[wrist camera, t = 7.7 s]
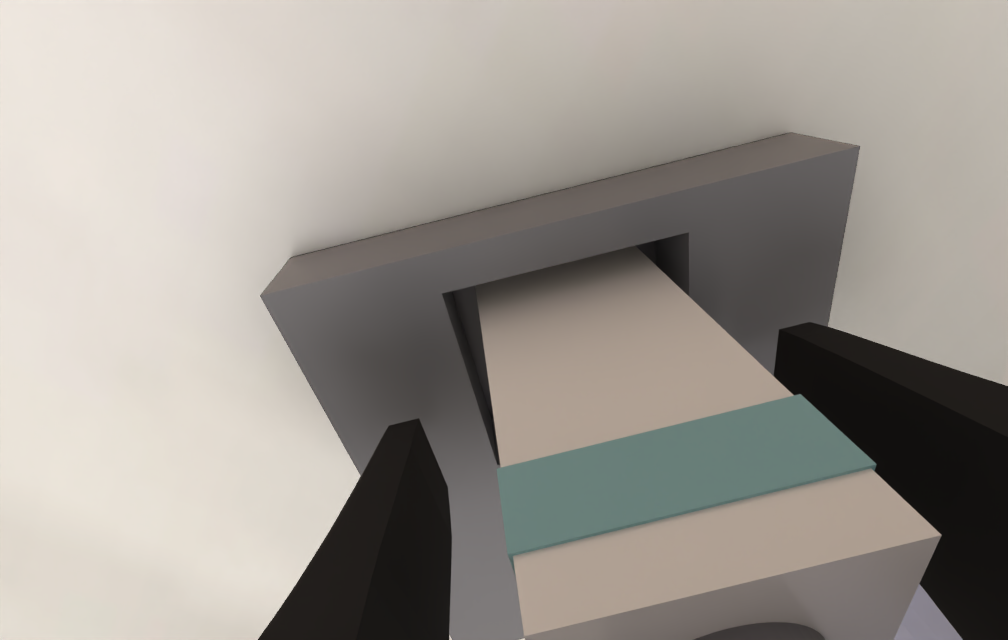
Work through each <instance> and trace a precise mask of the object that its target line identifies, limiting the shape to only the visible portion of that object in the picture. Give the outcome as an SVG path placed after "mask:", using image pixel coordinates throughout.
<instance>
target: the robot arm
mask: <svg viewBox="0 0 1008 640" xmlns="http://www.w3.org/2000/svg"><path fill="white" fill-rule="evenodd" d="M774 377H775V378H776V379H777V380H778V381H779V382H780V383H781V384H782V385H783V386H784V387H785V388H786V389H788V390H789V391H790V392H791V393H792V394H793V395H798V394H801V395H802V396H803V397H804V398H805V399H806V400H808V401H809V402H810V403H811V404H812V405H813V406H814V407H815V408H816V409H817V410H818V411H819V412H821V413H822V414H823V415H824V416H825V417H826V418H827V419H828V420H829V421H830V422H831V423H832V424H834V425H835V426H836V427H837V428H838V429H839V430H840V431H841V432H842V433H843V434H844V435H845V436H847V437H848V438H849V439H850V440H851V441H852V442H853V443H854V444H855V445H856V446H857V447H859V448H860V449H861V450H862V451H863V452H864V453H865V454H866V455H867V456H868V457H869V458H870V459H872V460H873V461H874V462H875V463H876V464H877V465H876V468H875V471H874V472H875V473H877V474H878V475H879V476H880V477H881V478H882V479H883V480H884V481H885V482H886V483H887V484H888V485H889V486H890V487H891V488H892V489H893V490H895V491H896V492H897V493H898V494H899V495H900V496H901V497H902V498H903V499H904V500H905V501H906V502H907V503H908V504H909V505H910V506H912V507H913V508H914V509H915V510H916V511H917V512H918V513H919V514H920V515H921V516H922V517H923V518H924V519H925V520H926V521H927V522H928V523H930V524H931V525H932V526H933V527H934V528H935V529H936V530H937V531H938V532H939V533H940V534H941V535H942V536H941V538H940V540H939V542H938V544H937V546H936V549H935V551H934V553H933V555H932V557H931V559H930V562H929V564H928V566H927V568H926V570H925V572H924V575H923V577H922V579H921V581H920V583H919V585H918V588H917V590H916V592H915V594H914V596H913V598H912V601H911V603H910V605H909V607H908V609H907V611H906V614H905V616H904V618H903V620H902V622H901V624H900V627H899V629H898V631H897V633H896V635H895V637H894V640H1008V386H1005V385H1002V384H999V383H996V382H992V381H989V380H986V379H983V378H980V377H977V376H974V375H970V374H967V373H964V372H961V371H958V370H955V369H952V368H949V367H946V366H943V365H940V364H937V363H934V362H931V361H928V360H925V359H922V358H919V357H916V356H914V355H911V354H908V353H905V352H902V351H899V350H896V349H893V348H890V347H887V346H884V345H881V344H878V343H875V342H873V341H870V340H867V339H864V338H861V337H858V336H855V335H852V334H849V333H846V332H843V331H839V330H836V329H833V328H830V327H827V326H823V325H820V324H816V323H812V322H807V323H803V324H799V325H795V326H791V327H787V328H783V329H779V333H778V342H777V350H776V359H775V368H774ZM451 559H452V531H451V517H450V505H449V494H448V486H447V484H446V481H445V479H444V477H443V474H442V472H441V469H440V467H439V465H438V462H437V460H436V458H435V455H434V453H433V450H432V448H431V446H430V443H429V441H428V439H427V436H426V434H425V431H424V429H423V427H422V424H421V422H420V420H419V418H418V419H414V420H410V421H405V422H401V423H397V424H393V425H389V426H388V428H387V429H386V431H385V433H384V434H383V436H382V438H381V440H380V442H379V444H378V445H377V447H376V449H375V451H374V453H373V455H372V457H371V458H370V460H369V462H368V464H367V466H366V468H365V470H364V471H363V473H362V475H361V477H360V479H359V481H358V482H357V484H356V486H355V488H354V490H353V491H352V493H351V495H350V497H349V498H348V500H347V502H346V504H345V505H344V507H343V509H342V511H341V512H340V514H339V516H338V518H337V519H336V521H335V523H334V524H333V526H332V528H331V530H330V531H329V533H328V535H327V536H326V538H325V540H324V541H323V543H322V544H321V546H320V547H319V549H318V551H317V552H316V554H315V555H314V557H313V559H312V560H311V562H310V563H309V565H308V566H307V568H306V570H305V571H304V573H303V574H302V576H301V578H300V579H299V581H298V582H297V584H296V585H295V587H294V588H293V590H292V591H291V593H290V594H289V596H288V597H287V599H286V600H285V602H284V603H283V605H282V606H281V608H280V609H279V611H278V612H277V613H276V615H275V616H274V618H273V619H272V621H271V622H270V623H269V625H268V626H267V628H266V629H265V630H264V632H263V633H262V635H261V636H260V637H259V639H258V640H449V624H450V594H451Z"/></svg>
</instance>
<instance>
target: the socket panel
mask: <svg viewBox="0 0 1008 640" xmlns="http://www.w3.org/2000/svg"><path fill="white" fill-rule="evenodd" d="M859 149H860V146H857V145H852V144H847V143H842V142H837V141H832V140H826V139H821V138H816V137H811V136H806V135H800V134H795V133H788V134H784V135H780V136H776V137H772V138H768V139H764V140H760V141H756V142H752V143H748V144H744V145H740V146H736V147H732V148H728V149H724V150H720V151H716V152H712V153H708V154H704V155H700V156H696V157H692V158H688V159H684V160H680V161H676V162H672V163H668V164H664V165H660V166H656V167H652V168H648V169H644V170H640V171H636V172H632V173H628V174H624V175H620V176H616V177H612V178H608V179H604V180H600V181H596V182H592V183H588V184H584V185H580V186H576V187H572V188H568V189H564V190H560V191H556V192H552V193H548V194H544V195H540V196H536V197H532V198H528V199H524V200H520V201H516V202H512V203H508V204H504V205H500V206H496V207H492V208H488V209H484V210H480V211H476V212H472V213H468V214H464V215H460V216H456V217H452V218H448V219H444V220H440V221H436V222H432V223H428V224H424V225H420V226H416V227H412V228H408V229H404V230H400V231H396V232H392V233H388V234H384V235H380V236H376V237H372V238H368V239H364V240H360V241H356V242H352V243H348V244H344V245H340V246H336V247H332V248H328V249H324V250H320V251H316V252H312V253H308V254H304V255H300V256H296V257H292V258H290V259H289V260H288V261H287V263H286V264H285V265H284V266H283V268H282V269H281V270H280V271H279V273H278V274H277V275H276V276H275V278H274V279H273V280H272V281H271V283H270V284H269V285H268V286H267V288H266V289H265V290H264V291H263V292H262V294H261V295H260V297H261V298H262V300H263V302H264V304H265V306H266V307H267V309H268V311H269V313H270V315H271V316H272V318H273V320H274V322H275V323H276V325H277V327H278V329H279V331H280V332H281V334H282V336H283V338H284V340H285V341H286V343H287V345H288V347H289V348H290V350H291V352H292V354H293V356H294V357H295V359H296V361H297V363H298V365H299V366H300V368H301V370H302V372H303V373H304V375H305V377H306V379H307V381H308V382H309V384H310V386H311V388H312V390H313V391H314V393H315V395H316V397H317V399H318V400H319V402H320V404H321V406H322V407H323V409H324V411H325V413H326V415H327V416H328V418H329V420H330V422H331V424H332V425H333V427H334V429H335V431H336V432H337V434H338V436H339V438H340V440H341V441H342V443H343V445H344V447H345V449H346V450H347V452H348V454H349V456H350V458H351V459H352V461H353V463H354V465H355V466H356V468H357V470H358V472H359V474H360V475H362V473H363V471H364V470H365V468H366V466H367V464H368V462H369V460H370V458H371V457H372V455H373V453H374V451H375V449H376V447H377V445H378V444H379V442H380V440H381V438H382V436H383V434H384V433H385V431H386V429H387V428H388V426H389V425H393V424H397V423H401V422H405V421H410V420H414V419H418V418H419V420H420V422H421V424H422V427H423V429H424V431H425V434H426V436H427V439H428V441H429V443H430V446H431V448H432V450H433V453H434V455H435V458H436V460H437V462H438V465H439V467H440V469H441V472H442V474H443V477H444V479H445V481H446V484H447V486H448V494H449V505H450V517H451V531H452V559H451V594H450V624H449V634H450V636H451V638H452V640H519V639H523V638H525V637H524V632H523V624H522V617H521V610H520V603H519V596H518V589H517V581H516V576H515V574H514V571H513V568H512V565H511V563H510V560H509V557H508V554H507V546H506V538H505V531H504V523H503V515H502V507H501V500H500V492H499V484H498V476H497V468H501V467H500V460H499V452H498V445H497V438H496V431H495V424H494V417H493V409H492V402H491V395H490V388H489V381H488V374H487V366H486V359H485V352H484V345H483V338H482V331H481V323H480V316H479V309H478V302H477V295H476V288H475V285H479V284H483V283H487V282H491V281H495V280H499V279H503V278H507V277H511V276H515V275H519V274H523V273H527V272H531V271H535V270H539V269H543V268H547V267H551V266H555V265H559V264H563V263H567V262H571V261H575V260H579V259H583V258H587V257H591V256H595V255H599V254H603V253H607V252H611V251H615V250H619V249H623V248H627V247H631V246H636V247H637V248H638V249H639V250H640V251H641V252H642V253H643V254H644V255H646V256H647V257H648V258H649V259H650V260H651V261H652V262H653V263H654V264H655V265H656V266H657V267H658V268H659V269H660V270H661V271H662V272H664V273H665V274H666V275H667V276H668V277H669V278H670V279H671V280H672V281H673V282H674V283H675V284H676V285H677V286H678V287H679V288H681V289H682V290H683V291H684V292H685V293H686V294H687V295H688V296H689V297H690V298H691V299H692V300H693V301H694V302H695V303H696V304H697V305H699V306H700V307H701V308H702V309H703V310H704V311H705V312H706V313H707V314H708V315H709V316H710V317H711V318H712V319H713V320H714V321H715V322H717V323H718V324H719V325H720V326H721V327H722V328H723V329H724V330H725V331H726V332H727V333H728V334H729V335H730V336H731V337H732V338H733V339H735V340H736V341H737V342H738V343H739V344H740V345H741V346H742V347H743V348H744V349H745V350H746V351H747V352H748V353H749V354H750V355H752V356H753V357H754V358H755V359H756V360H757V361H758V362H759V363H760V364H761V365H762V366H763V367H764V368H765V369H766V370H767V371H768V372H770V373H771V374H772V375H773V376H774V368H775V359H776V350H777V342H778V333H779V329H783V328H787V327H791V326H795V325H799V324H803V323H807V322H812V323H816V324H820V325H823V326H827V327H828V321H829V316H830V310H831V305H832V299H833V294H834V288H835V282H836V277H837V271H838V266H839V260H840V255H841V249H842V243H843V238H844V232H845V227H846V221H847V216H848V210H849V204H850V199H851V193H852V188H853V182H854V177H855V171H856V166H857V160H858V154H859Z"/></svg>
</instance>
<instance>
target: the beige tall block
mask: <svg viewBox="0 0 1008 640" xmlns="http://www.w3.org/2000/svg"><path fill="white" fill-rule="evenodd" d="M475 288H476V295H477V302H478V309H479V316H480V323H481V331H482V338H483V345H484V352H485V359H486V366H487V374H488V381H489V388H490V395H491V402H492V409H493V417H494V424H495V431H496V438H497V445H498V452H499V460H500V467H501V468H497V476H498V484H499V492H500V500H501V507H502V515H503V523H504V531H505V538H506V546H507V554H508V557H509V560H510V563H511V565H512V568H513V571H514V574H515V576H516V581H517V589H518V596H519V603H520V610H521V617H522V624H523V632H524V637H525V640H894V637H895V635H896V633H897V631H898V629H899V627H900V624H901V622H902V620H903V618H904V616H905V614H906V611H907V609H908V607H909V605H910V603H911V601H912V598H913V596H914V594H915V592H916V590H917V588H918V585H919V583H920V581H921V579H922V577H923V575H924V572H925V570H926V568H927V566H928V564H929V562H930V559H931V557H932V555H933V553H934V551H935V549H936V546H937V544H938V542H939V540H940V538H941V536H942V535H941V534H940V533H939V532H938V531H937V530H936V529H935V528H934V527H933V526H932V525H931V524H930V523H928V522H927V521H926V520H925V519H924V518H923V517H922V516H921V515H920V514H919V513H918V512H917V511H916V510H915V509H914V508H913V507H912V506H910V505H909V504H908V503H907V502H906V501H905V500H904V499H903V498H902V497H901V496H900V495H899V494H898V493H897V492H896V491H895V490H893V489H892V488H891V487H890V486H889V485H888V484H887V483H886V482H885V481H884V480H883V479H882V478H881V477H880V476H879V475H878V474H877V473H875V472H874V471H875V468H876V465H877V464H876V463H875V462H874V461H873V460H872V459H870V458H869V457H868V456H867V455H866V454H865V453H864V452H863V451H862V450H861V449H860V448H859V447H857V446H856V445H855V444H854V443H853V442H852V441H851V440H850V439H849V438H848V437H847V436H845V435H844V434H843V433H842V432H841V431H840V430H839V429H838V428H837V427H836V426H835V425H834V424H832V423H831V422H830V421H829V420H828V419H827V418H826V417H825V416H824V415H823V414H822V413H821V412H819V411H818V410H817V409H816V408H815V407H814V406H813V405H812V404H811V403H810V402H809V401H808V400H806V399H805V398H804V397H803V396H802V395H801V394H798V395H793V394H792V393H791V392H790V391H789V390H788V389H786V388H785V387H784V386H783V385H782V384H781V383H780V382H779V381H778V380H777V379H776V378H775V377H774V376H773V375H772V374H771V373H770V372H768V371H767V370H766V369H765V368H764V367H763V366H762V365H761V364H760V363H759V362H758V361H757V360H756V359H755V358H754V357H753V356H752V355H750V354H749V353H748V352H747V351H746V350H745V349H744V348H743V347H742V346H741V345H740V344H739V343H738V342H737V341H736V340H735V339H733V338H732V337H731V336H730V335H729V334H728V333H727V332H726V331H725V330H724V329H723V328H722V327H721V326H720V325H719V324H718V323H717V322H715V321H714V320H713V319H712V318H711V317H710V316H709V315H708V314H707V313H706V312H705V311H704V310H703V309H702V308H701V307H700V306H699V305H697V304H696V303H695V302H694V301H693V300H692V299H691V298H690V297H689V296H688V295H687V294H686V293H685V292H684V291H683V290H682V289H681V288H679V287H678V286H677V285H676V284H675V283H674V282H673V281H672V280H671V279H670V278H669V277H668V276H667V275H666V274H665V273H664V272H662V271H661V270H660V269H659V268H658V267H657V266H656V265H655V264H654V263H653V262H652V261H651V260H650V259H649V258H648V257H647V256H646V255H644V254H643V253H642V252H641V251H640V250H639V249H638V248H637V247H636V246H631V247H627V248H623V249H619V250H615V251H611V252H607V253H603V254H599V255H595V256H591V257H587V258H583V259H579V260H575V261H571V262H567V263H563V264H559V265H555V266H551V267H547V268H543V269H539V270H535V271H531V272H527V273H523V274H519V275H515V276H511V277H507V278H503V279H499V280H495V281H491V282H487V283H483V284H479V285H475Z"/></svg>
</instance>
